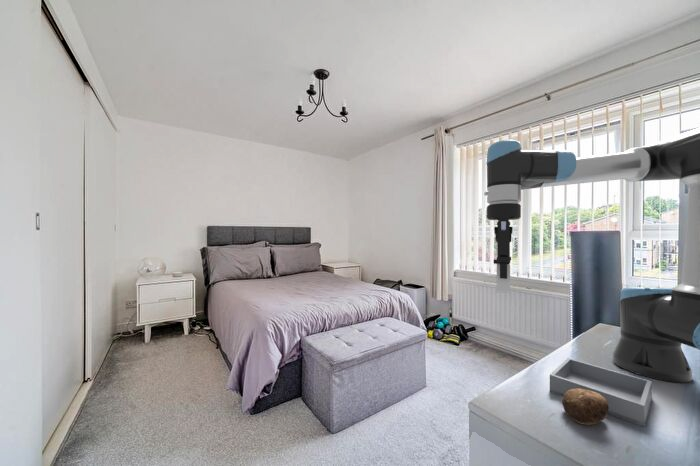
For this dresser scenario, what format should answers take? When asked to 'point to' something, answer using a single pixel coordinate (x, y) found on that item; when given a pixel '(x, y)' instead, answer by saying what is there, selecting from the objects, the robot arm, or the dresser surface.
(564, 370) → the tray
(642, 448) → the dresser surface
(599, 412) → the mushroom
